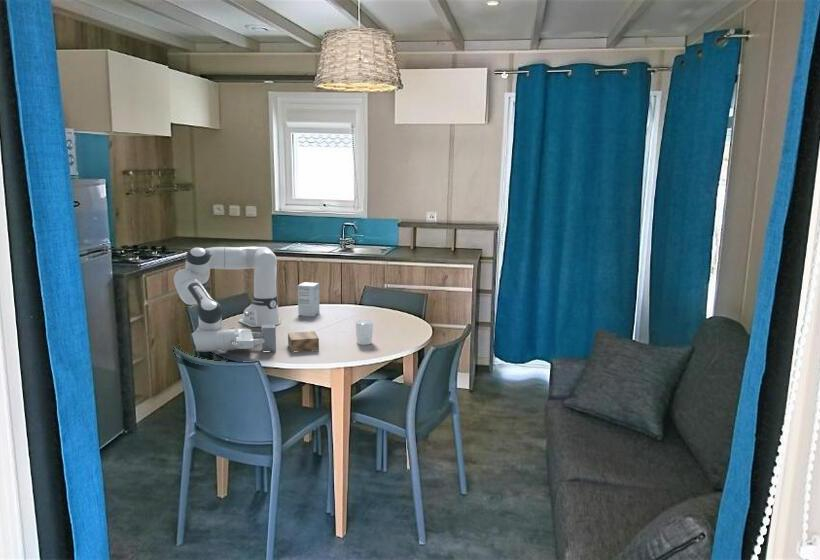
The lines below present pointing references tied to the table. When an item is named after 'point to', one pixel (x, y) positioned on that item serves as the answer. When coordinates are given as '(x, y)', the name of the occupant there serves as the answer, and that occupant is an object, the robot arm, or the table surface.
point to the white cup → (364, 332)
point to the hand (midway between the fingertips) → (263, 337)
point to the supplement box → (308, 299)
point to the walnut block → (303, 341)
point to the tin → (268, 337)
